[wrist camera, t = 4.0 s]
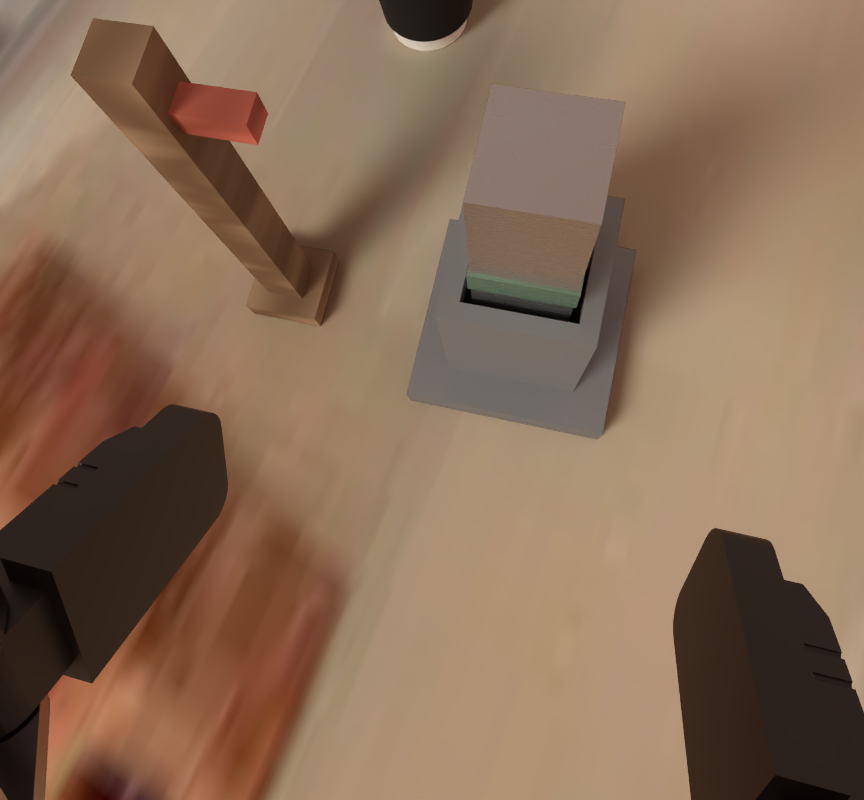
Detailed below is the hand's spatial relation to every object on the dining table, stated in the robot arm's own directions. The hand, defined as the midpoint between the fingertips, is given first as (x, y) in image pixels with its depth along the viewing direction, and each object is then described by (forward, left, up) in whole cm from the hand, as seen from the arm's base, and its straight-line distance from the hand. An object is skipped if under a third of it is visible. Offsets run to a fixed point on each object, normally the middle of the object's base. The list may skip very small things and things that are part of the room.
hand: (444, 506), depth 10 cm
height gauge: (-16, -4, -22) cm, 28 cm away
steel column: (-9, +6, -20) cm, 23 cm away
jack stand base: (-9, +6, -22) cm, 25 cm away
